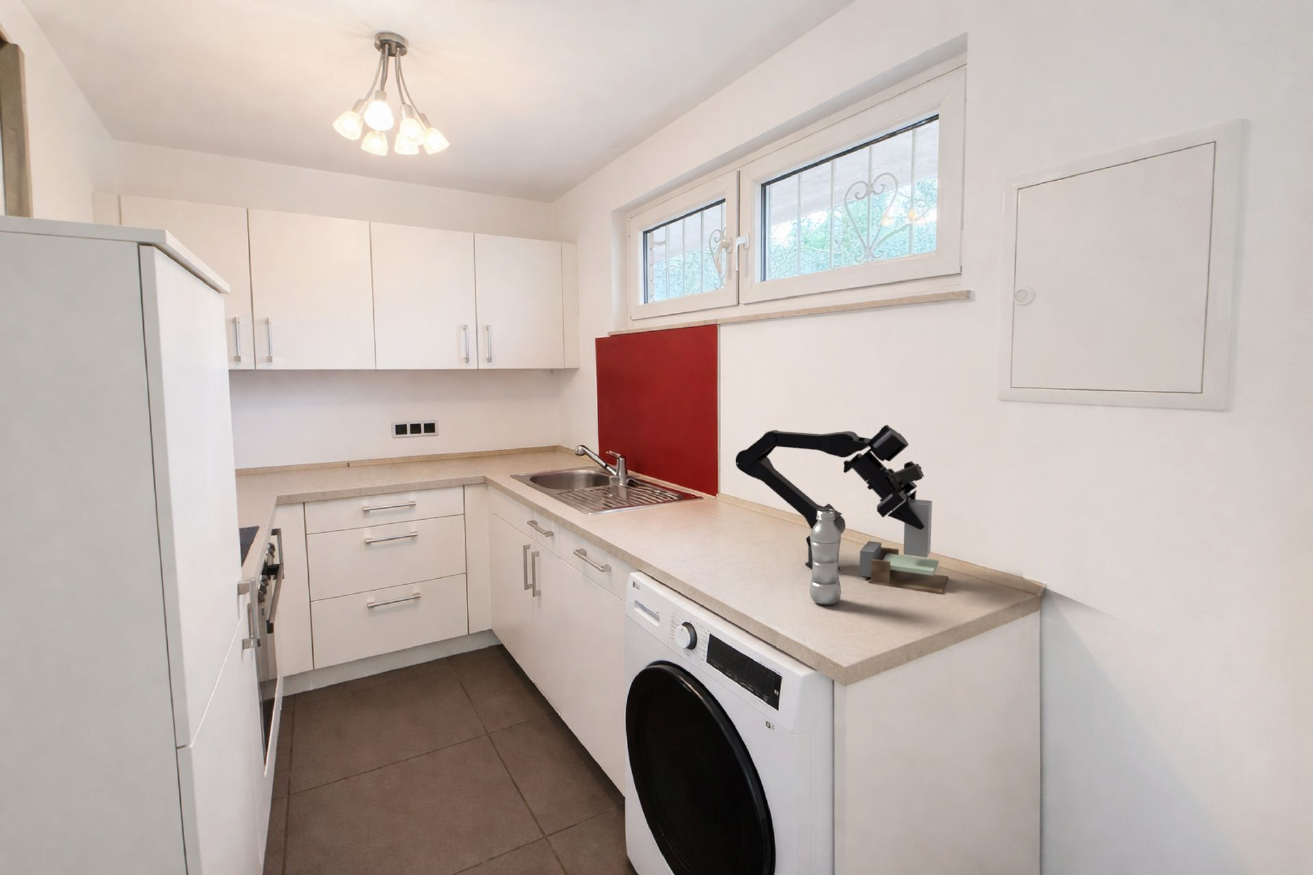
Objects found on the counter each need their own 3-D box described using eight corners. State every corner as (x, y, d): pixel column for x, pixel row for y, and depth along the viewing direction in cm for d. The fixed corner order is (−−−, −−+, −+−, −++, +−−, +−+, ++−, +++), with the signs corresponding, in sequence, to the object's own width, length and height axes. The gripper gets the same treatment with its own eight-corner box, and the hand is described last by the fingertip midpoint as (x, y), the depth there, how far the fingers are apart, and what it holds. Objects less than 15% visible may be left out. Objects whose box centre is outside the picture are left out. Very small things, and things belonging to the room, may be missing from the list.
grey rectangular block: (903, 554, 140) (904, 502, 138) (907, 548, 144) (908, 498, 143) (927, 557, 137) (928, 505, 136) (930, 551, 141) (932, 500, 140)
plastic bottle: (846, 601, 131) (847, 509, 128) (832, 611, 126) (832, 515, 123) (818, 594, 135) (819, 505, 133) (803, 603, 130) (804, 511, 128)
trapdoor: (859, 575, 144) (860, 550, 143) (868, 564, 151) (868, 541, 151) (933, 586, 135) (933, 560, 135) (938, 574, 143) (938, 549, 142)
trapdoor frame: (868, 582, 141) (868, 559, 141) (879, 568, 151) (879, 546, 151) (942, 594, 133) (942, 569, 133) (948, 578, 143) (948, 555, 143)
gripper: (893, 457, 132) (948, 512, 128) (908, 446, 148) (957, 495, 143) (855, 489, 137) (906, 544, 133) (873, 476, 153) (920, 524, 148)
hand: (924, 525), depth 139 cm, fingers closed on grey rectangular block, 5 cm apart
